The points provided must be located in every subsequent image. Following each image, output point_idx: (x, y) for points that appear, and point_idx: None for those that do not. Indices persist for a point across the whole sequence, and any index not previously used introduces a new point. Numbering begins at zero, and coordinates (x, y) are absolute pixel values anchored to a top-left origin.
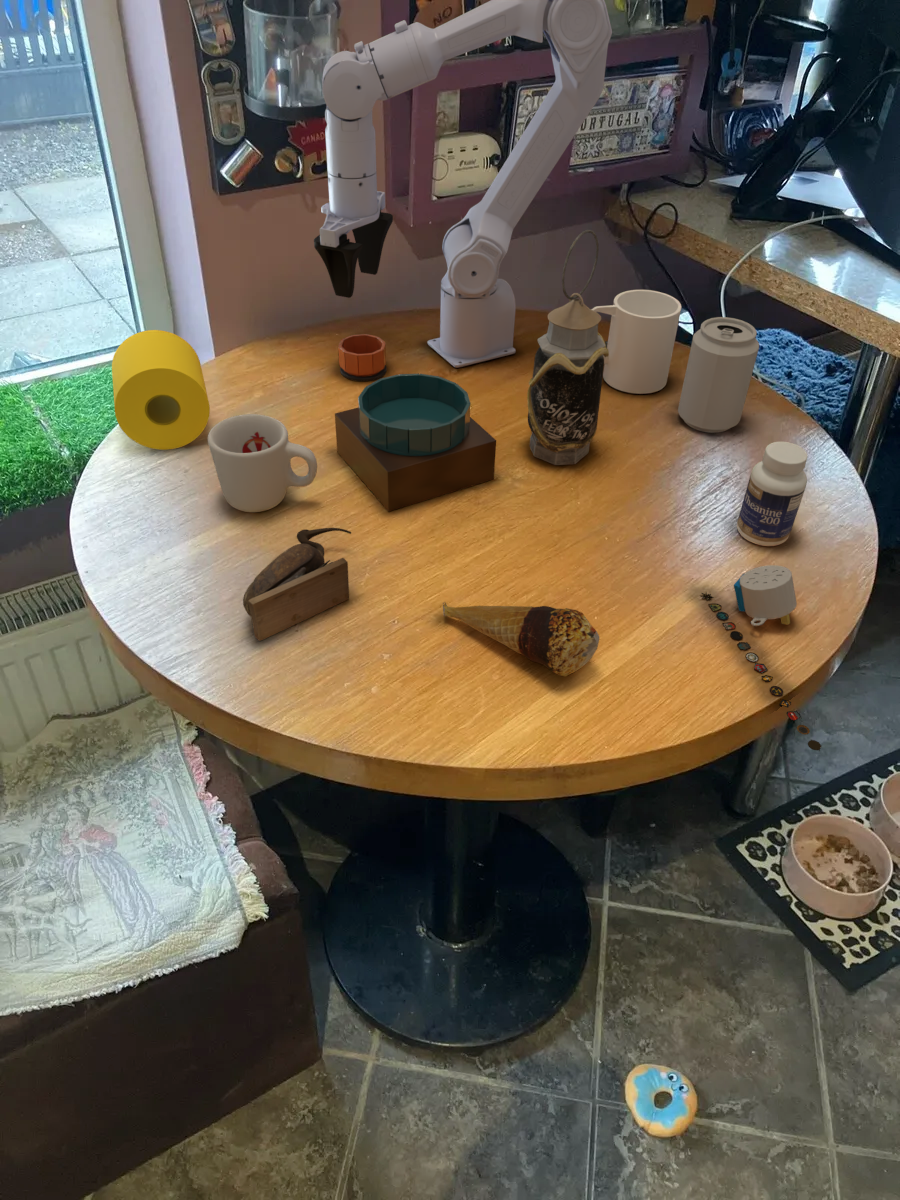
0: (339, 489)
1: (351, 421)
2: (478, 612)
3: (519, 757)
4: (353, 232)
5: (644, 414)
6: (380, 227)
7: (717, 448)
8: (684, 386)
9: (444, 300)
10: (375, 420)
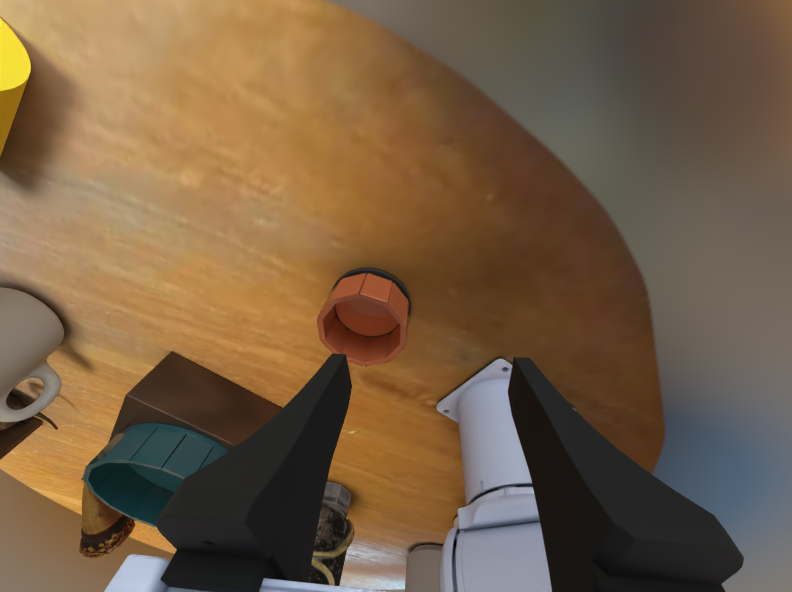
0: (126, 375)
1: (131, 415)
2: (82, 502)
3: (60, 502)
4: (570, 464)
5: (421, 528)
6: (555, 579)
7: (393, 555)
8: (421, 584)
9: (479, 474)
10: (86, 483)
